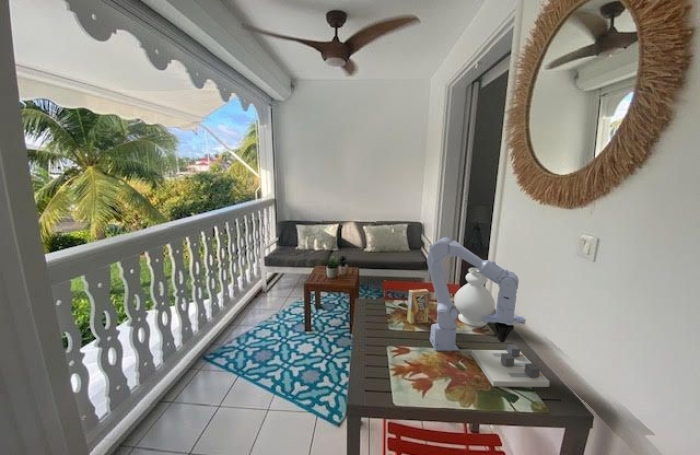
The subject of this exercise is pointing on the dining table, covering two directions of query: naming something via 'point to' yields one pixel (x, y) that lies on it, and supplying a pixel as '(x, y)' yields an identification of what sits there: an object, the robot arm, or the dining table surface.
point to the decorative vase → (474, 299)
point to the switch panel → (507, 370)
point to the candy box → (418, 306)
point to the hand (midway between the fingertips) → (501, 340)
